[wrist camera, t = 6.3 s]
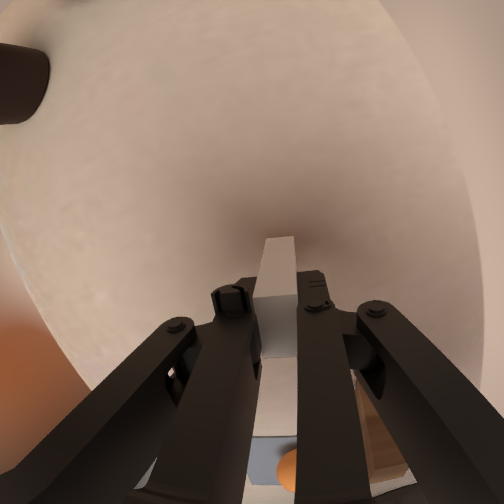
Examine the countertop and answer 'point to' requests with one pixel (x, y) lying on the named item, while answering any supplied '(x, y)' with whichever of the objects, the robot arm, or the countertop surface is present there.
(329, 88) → the countertop surface
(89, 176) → the countertop surface
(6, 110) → the bottle
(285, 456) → the ball
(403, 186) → the countertop surface
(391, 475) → the post
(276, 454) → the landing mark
